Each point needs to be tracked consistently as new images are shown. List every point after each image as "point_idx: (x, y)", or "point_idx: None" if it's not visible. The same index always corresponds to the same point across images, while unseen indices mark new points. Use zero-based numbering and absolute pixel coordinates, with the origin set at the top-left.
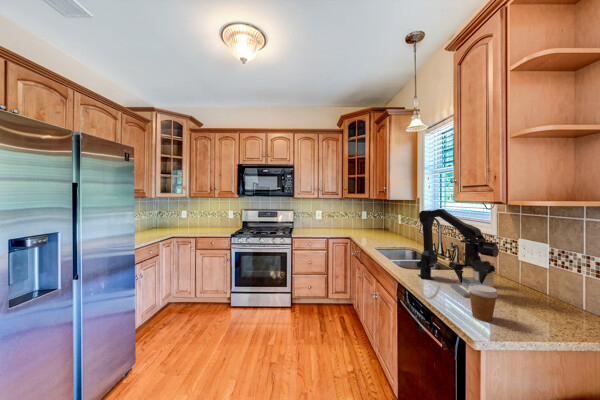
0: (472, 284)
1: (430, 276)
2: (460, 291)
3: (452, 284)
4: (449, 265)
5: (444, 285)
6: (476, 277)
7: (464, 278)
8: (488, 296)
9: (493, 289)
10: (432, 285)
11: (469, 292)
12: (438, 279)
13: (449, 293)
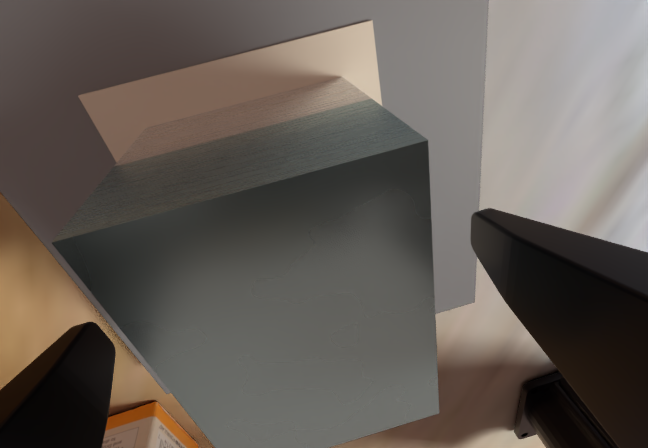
0: None
1: (574, 397)
2: (484, 49)
3: (458, 298)
4: None
5: (498, 292)
6: None
7: (435, 348)
8: None
9: None
10: (627, 242)
11: (353, 33)
12: (474, 402)
13: (599, 26)
